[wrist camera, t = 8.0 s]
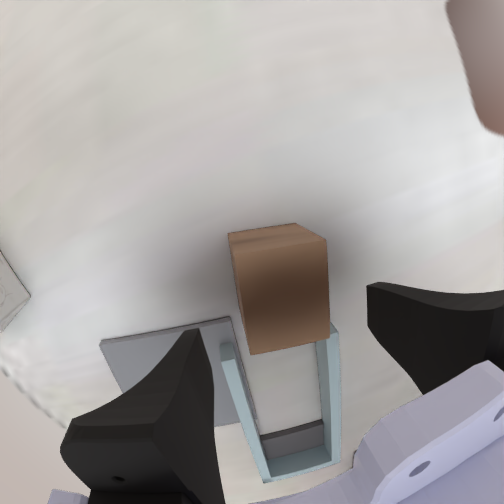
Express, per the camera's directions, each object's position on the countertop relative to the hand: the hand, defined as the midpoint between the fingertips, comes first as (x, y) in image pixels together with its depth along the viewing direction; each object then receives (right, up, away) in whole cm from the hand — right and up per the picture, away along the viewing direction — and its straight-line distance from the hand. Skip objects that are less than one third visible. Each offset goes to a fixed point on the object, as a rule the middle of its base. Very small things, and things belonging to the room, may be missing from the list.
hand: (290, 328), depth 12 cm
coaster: (-6, -6, +7) cm, 12 cm away
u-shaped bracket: (+1, -9, +9) cm, 13 cm away
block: (-1, +2, +6) cm, 7 cm away
